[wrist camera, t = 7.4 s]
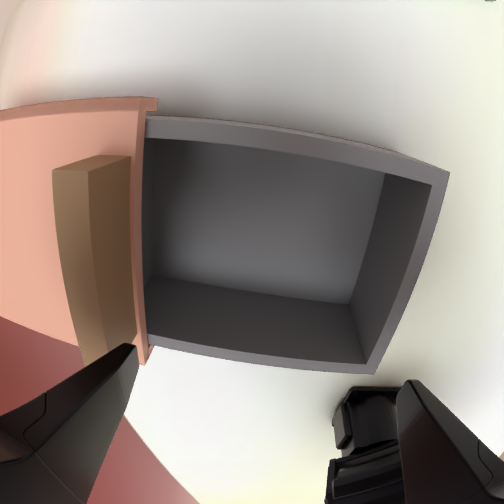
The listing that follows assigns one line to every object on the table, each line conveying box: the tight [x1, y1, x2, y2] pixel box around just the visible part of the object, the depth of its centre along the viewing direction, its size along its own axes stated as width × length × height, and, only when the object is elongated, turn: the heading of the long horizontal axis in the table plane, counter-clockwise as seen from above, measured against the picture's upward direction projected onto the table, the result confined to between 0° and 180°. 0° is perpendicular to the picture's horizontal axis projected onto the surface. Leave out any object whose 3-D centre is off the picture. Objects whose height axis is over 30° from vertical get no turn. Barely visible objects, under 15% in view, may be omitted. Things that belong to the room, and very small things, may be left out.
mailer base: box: [141, 115, 450, 375], centre depth 17 cm, size 16×12×7 cm
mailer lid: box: [0, 97, 158, 366], centre depth 13 cm, size 16×14×5 cm
